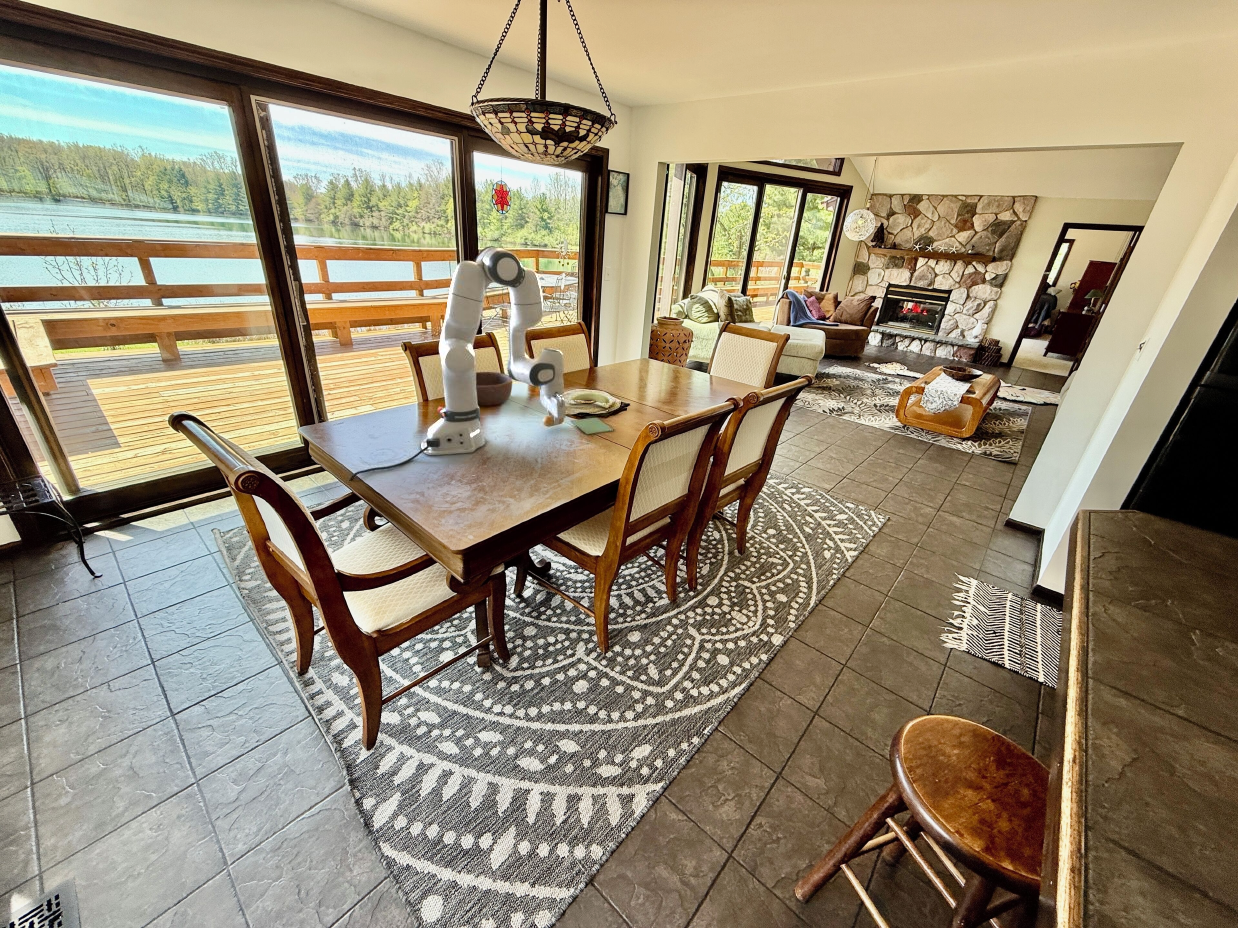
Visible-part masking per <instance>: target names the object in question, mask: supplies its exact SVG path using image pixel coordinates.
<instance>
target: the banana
mask: <svg viewBox="0 0 1238 928" xmlns="http://www.w3.org/2000/svg"><path fill="white" fill-rule="evenodd" d="M569 400H592V401H596V402H600V403H606V404H607V403H610V398H608V397H607V396H605V395H603V394H601V393H596V392H582V393H579V394H578V393H577V394H576V395H573V396H572V397H571V398H570V399H569ZM605 412H606V413H609V412H610V409H609V410H608V411H606V410H605Z"/></svg>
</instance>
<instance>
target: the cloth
mask: <svg viewBox="0 0 1238 928" xmlns="http://www.w3.org/2000/svg"><path fill="white" fill-rule="evenodd" d="M571 422H572V423H573V424H574V425H575V426H576V427H578V429H580V430H581V431H582V432H583V433H584V434H585V435H593V434H599V433H606V432H613V431H614V429H613V428H612V427H611V426H609V425H608V424H606V423H605V422H604V421H603V420H601V419H600V418H599V417H589V418H583V419H582V418H581V419H575V420H571Z"/></svg>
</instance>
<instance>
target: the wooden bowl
mask: <svg viewBox="0 0 1238 928" xmlns="http://www.w3.org/2000/svg"><path fill="white" fill-rule="evenodd" d="M512 389H513V379H512V378H511V377H510V376H509V374H506V373H504V372H503V373H502V372H498V371H497V372H495V371H476V390H477V403H478V406H479V407H492V406H498V405H502V404H505V403H506V402H507V401H508V400H509V399H510V397H511V393H512Z"/></svg>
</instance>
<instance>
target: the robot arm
mask: <svg viewBox="0 0 1238 928" xmlns="http://www.w3.org/2000/svg"><path fill="white" fill-rule="evenodd" d="M492 283H495V284H498V285H500V286H502V287H503V286H504V287H507V289H508V292H509V297H510V299H509V300H510V308H511V310H510V312H511V313H510V316H509V320H508V360H507V364H506V365H507V366H506V370H507V375H509V376H510V377H511V378H512V381H515V382H520V383H524V384H527V385H530V386H533V387H538V389H539V396H540V397H539V398H540V403H541V405H542V406H543V407H544V408H545V409H546V413H547V416H550V415H554V420H553V423H554V424H555V426H559V425H558V424H559V419H561V418H564V419H566V416H567V409H566V407H567V406H566V401H565V399H564V398H563V395H564V394H565V380H564V373H565V363H564V362H565V361H564V355H563V352H562V351H561V350H559V349H557V348H552V347H544V348H542V349H541V352H540V353H539V355H537V356H535V357H534V358H531V357H529V356H528V355H527V352H526V333H527V331H528V330H529V329H531V328H533V327H536V326H538V325H539V324H540V322H541V321H542V319H543V317H544V304H543V303H544V302H543V294H542V288H541V284H540V280H539V276H538V274H537V273H536V272H535V270H533V269H532V268H529V267H524V266H523V265H522V263H521V262H520V260H519V258H518V257H517V256H516V254H514V252H512V251H510V250H507V249H506V248H504V247H501V246H494V245H489V246H486V247H484V248H483V249H482V250H481V251H480V252H479V253H478V254H477V255H476V257H474V259H473V260H463V261H460V262H459V263H458V264H457V265H456V268H455V270H454V273H453V276H452V280H451V283H450V288H449V292H448V293H449V294H448V299H447V304H446V305H447V306H446V310H445V316H444V321H443V325H442V329H441V334H440V339H439V344H438V353H439V357H440V362H441V372H442V383H443V385H442V387H443V393H444V395H443V396H444V403H445V406H444V407H443V406H438V408H437V412H438V413H439V414H440V418H439V419H438V420H437V421H435V422H434V423H433V424H432V425H431V426H429V427H428V429H427V432H426V438H424V439H423V440H422V441H421V444H420V448H421V450H420V451H418V452H417V453H415V454H414V455H413V456H411V457H409V458H408V459H406V460H404V461H402V462H399V463H396V464H392V465H387V466H377V467H372V468H371V467H370V468H367V469H363V470H359V471H356V472H354V473H353V474H352V475H351V476H350V477H349V479H348V481H349V482H351V481H353V480H354V478H355V477H356V476H357V475H360V474H364V473H368V472H369V473H370V472H374V471H379V470H388V469H392V468H393V469H394V468H398V467H399V466H402V465H405V464H407V463H410V461H413V460H414V459H416V458H417V457H419V456H420V455H421V454H422V453H424V454H425V455H428V456H440V455H442V456H443V455H453V454H454V455H455V454H467V453H468V454H469V453H470V454H471V453H474V452H475V451H476V450H477V449H480V448H481V447H484V445H485V444H486V439H485V437H484V433H483V430H482V427H481V409H480V406H478V403H477V390H476V372H477V363H476V361H477V359H476V353H475V350H474V343H475V339H476V336H477V332H478V330H479V327H480V324H481V319H482V313H483V308H484V303H485V297H486V292H487V289H488V287H489V285H491V284H492Z"/></svg>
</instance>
